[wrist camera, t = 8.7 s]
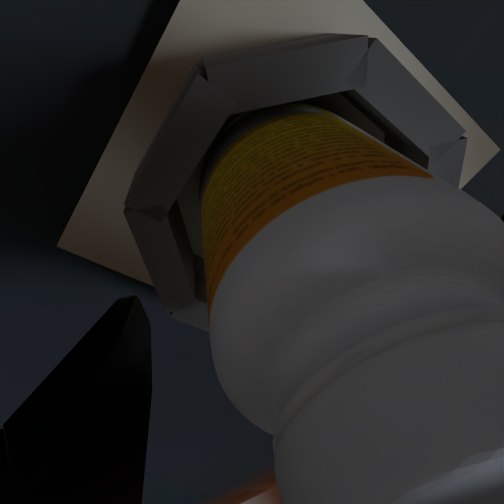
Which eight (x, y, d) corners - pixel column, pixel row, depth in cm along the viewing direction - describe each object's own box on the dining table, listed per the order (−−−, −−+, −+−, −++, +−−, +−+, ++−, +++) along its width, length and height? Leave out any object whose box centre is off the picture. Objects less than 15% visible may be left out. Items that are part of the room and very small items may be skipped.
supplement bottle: (172, 220, 12) (136, 646, 4) (248, 59, 10) (582, 247, 1) (302, 271, 14) (463, 618, 6) (390, 148, 12) (861, 432, 3)
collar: (297, 335, 17) (318, 394, 14) (63, 234, 12) (27, 294, 10) (484, 143, 13) (564, 175, 10) (240, -116, 8) (266, -185, 6)
